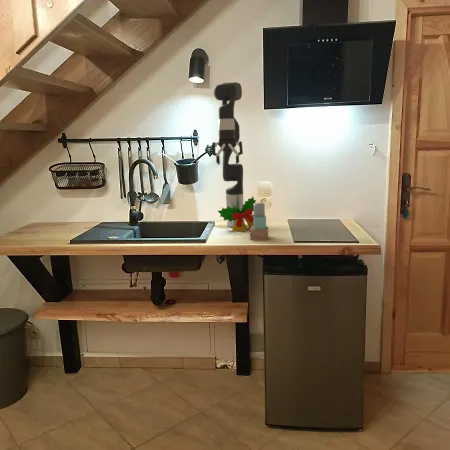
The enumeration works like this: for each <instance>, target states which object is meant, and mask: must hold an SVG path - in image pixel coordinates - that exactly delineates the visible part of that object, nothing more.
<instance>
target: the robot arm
mask: <svg viewBox="0 0 450 450" xmlns="http://www.w3.org/2000/svg"><path fill="white" fill-rule="evenodd" d="M242 89H243V88H242V85H241V83H240V82H223V83H221V84H216V85H215V87H214V90H213V96H214V99H216V100H217V101H220V102H221V103H220V104H221V106H219V108H218V142H215V141H214V142H212V144H211V145H212V146H211V154H212V156H215V159H216V164H217V166H218V165H220V164H221V159H220V158H221V157H220V155H221V153H222V179H223V181H224V182H236V183H235V184H234V185H233V186H231V187H228V188H226V189H225V198H226V199H225V200H226V205H225V206H226V208H227V207H228V206H229V207H230V208H234V207H235V208H236V209H240V211H241V208H243V206H242V205H244V167H243V164H242V163H240V155H243V154H244V152H243V142H242V140H240V138H241V137H240V133H241V132H240V124H239V122H238V120H237V119H236V117H235V103H236V101H239V100H241V99H242V96H243V91H242ZM217 146H219V149H218V151H217V153H216V148H217ZM236 146H237V147H239V152H238V150H236ZM232 153H234V154H235V163H230V162H229V161H230V158H231V156H232ZM243 219H244V218H243ZM244 220H245V219H244ZM234 223H235V221H234V220H232V221H231V222H230V221H229V220H226V226H227V227H230V228H231V227H232V228H233V226H234Z"/></svg>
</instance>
